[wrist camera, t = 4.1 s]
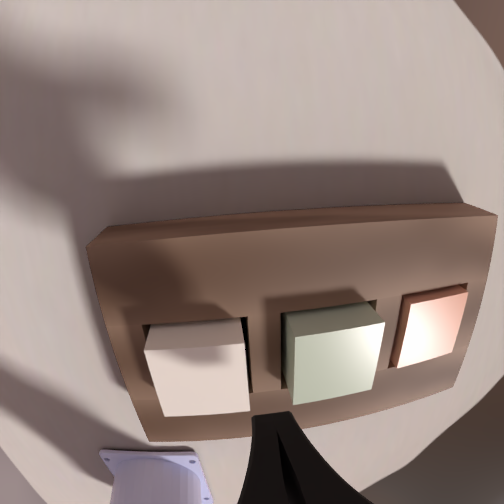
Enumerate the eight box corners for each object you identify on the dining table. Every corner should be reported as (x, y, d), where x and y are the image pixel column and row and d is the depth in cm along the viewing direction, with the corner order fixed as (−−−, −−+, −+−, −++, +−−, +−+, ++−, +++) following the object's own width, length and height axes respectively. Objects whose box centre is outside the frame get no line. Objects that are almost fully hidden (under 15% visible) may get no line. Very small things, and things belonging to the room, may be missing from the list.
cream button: (243, 370, 16) (250, 410, 14) (169, 376, 16) (164, 416, 13) (238, 306, 15) (244, 343, 12) (154, 312, 15) (143, 350, 12)
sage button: (350, 354, 17) (371, 389, 14) (281, 366, 17) (292, 405, 14) (358, 291, 16) (385, 322, 13) (280, 301, 15) (295, 337, 12)
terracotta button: (427, 327, 19) (451, 352, 16) (375, 338, 18) (396, 368, 15) (438, 270, 17) (468, 291, 14) (383, 278, 17) (411, 304, 14)
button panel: (432, 362, 21) (453, 386, 18) (154, 406, 19) (149, 441, 16) (464, 202, 16) (497, 215, 14) (107, 226, 15) (85, 246, 12)
